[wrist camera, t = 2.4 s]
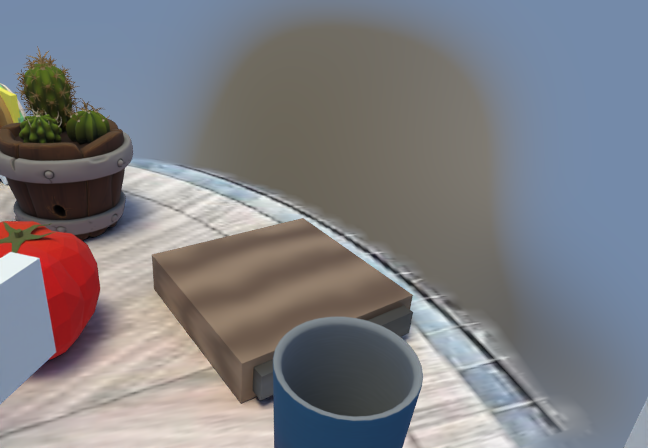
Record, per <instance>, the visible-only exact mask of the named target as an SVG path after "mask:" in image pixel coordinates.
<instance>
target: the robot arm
mask: <svg viewBox="0 0 648 448" xmlns="http://www.w3.org/2000/svg"><path fill="white" fill-rule="evenodd" d="M55 353H56V348H55V342H54V336H53V331H52V325H51V320H50V314H49V308H48V303H47V297H46V291H45V286H44V280H43V274H42V269H41V263H40V258H37V257H32V256H27V255H23V254H18V253H13V252H10V253H8V254H6V255H5V256H3V257H2V258H0V404H1V403H2V402H3V401H4V400H5V399H6V398H8V397H9V396H10V395H11V394H12V393H13V392H14V391H15V390H16V389H17V388H18V387H19V386H20V385H22V384H23V383H24V382H25V381H26V380H27V379H28V378H29V377H30V376H31V375H32V374H33V373H34V372H36V371H37V370H38V369H39V368H40V367H41V366H42V365H43V364H44V363H45V362H46V361H47V360H48V359H49V358H51V357H52V356H53V355H54V354H55ZM624 448H648V398H647V400H646V402H645V404H644V406H643V408H642V411H641V413H640V415H639V417H638V419H637V421H636V423H635V425H634V427H633V429H632V432H631V434H630V436H629V438H628V440H627V442H626V444H625V446H624Z"/></svg>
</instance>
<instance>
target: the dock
mask: <svg viewBox="0 0 648 448" xmlns="http://www.w3.org/2000/svg"><path fill="white" fill-rule="evenodd" d="M152 262H153V278H154V289H155V291H156V292H157V293H158V295H159V296H160V297H161V299H162V300H163V301H164V302H165V304H166V305H167V306H168V308H169V309H170V310H171V312H172V313H173V314H174V316H175V317H176V318H177V320H178V321H179V322H180V324H181V325H182V326H183V328H184V329H185V330H186V332H187V333H188V334H189V335H190V337H191V338H192V339H193V341H194V342H195V343H196V345H197V346H198V347H199V349H200V350H201V351H202V353H203V354H204V355H205V357H206V358H207V359H208V361H209V362H210V363H211V364H212V366H213V367H214V368H215V370H216V371H217V372H218V374H219V375H220V376H221V378H222V379H223V380H224V382H225V383H226V384H227V386H228V387H229V388H230V390H231V391H232V392H233V394H234V395H235V396H236V397H237V399H238V400H239V401H240V403H243V402H245V401H248V400H250V399H252V398H254V397H258V398H259V399H260V401H261V400H263V399H265V398H267V397H270V396H272V395H273V356H274V352H275V349H276V347H277V345H278V343H279V341H280V340H281V339H282V338H283V337H284V335H285V334H286V333H287V332H289V331H290V330H292V329H293V328H294V327H296V326H298V325H300V324H302V323H305V322H307V321H311V320H314V319H318V318H325V317H350V318H357V319H362V320H366V321H370V322H372V323H375V324H378V325H381V326H383V327H385V328H387V329H389V330H391V331H392V332H394V333H395V334H397V335H398V336H399V337H401V336H403V335H405V334H407V333H409V329H410V324H411V319H412V314H413V312H412V311H411V310H410V306H411V301H412V296H413V295H412V294H410V293H409V292H408V291H406V290H405V289H403V288H402V287H400V286H399V285H398V284H396V283H395V282H393V281H392V280H390V279H389V278H388V277H386V276H385V275H383V274H382V273H380V272H379V271H378V270H376V269H375V268H373V267H372V266H370V265H369V264H368V263H366V262H365V261H363V260H362V259H361V258H359V257H358V256H356V255H355V254H353V253H352V252H351V251H349V250H348V249H346V248H345V247H343V246H342V245H341V244H339V243H338V242H336V241H335V240H333V239H332V238H331V237H329V236H328V235H326V234H325V233H323V232H322V231H321V230H319V229H318V228H316V227H315V226H313V225H312V224H311V223H309V222H308V221H306V220H305V219H304V218H302V219H298V220H294V221H289V222H285V223H281V224H277V225H273V226H269V227H265V228H260V229H256V230H252V231H248V232H244V233H240V234H236V235H232V236H227V237H223V238H219V239H215V240H211V241H207V242H203V243H199V244H194V245H190V246H186V247H182V248H178V249H174V250H170V251H166V252H161V253H157V254H153V255H152Z"/></svg>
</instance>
